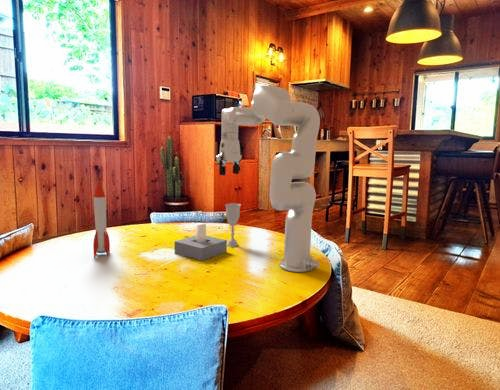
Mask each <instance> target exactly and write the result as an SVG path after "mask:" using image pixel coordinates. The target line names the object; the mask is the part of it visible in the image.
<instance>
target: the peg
mask: <svg viewBox="0 0 500 390" xmlns="http://www.w3.org/2000/svg"><path fill="white" fill-rule="evenodd" d="M195 235H196V242H197V243H201V244H202V243H205V242H206V236H207V223H205V222H197V223H196V224H195Z"/></svg>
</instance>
